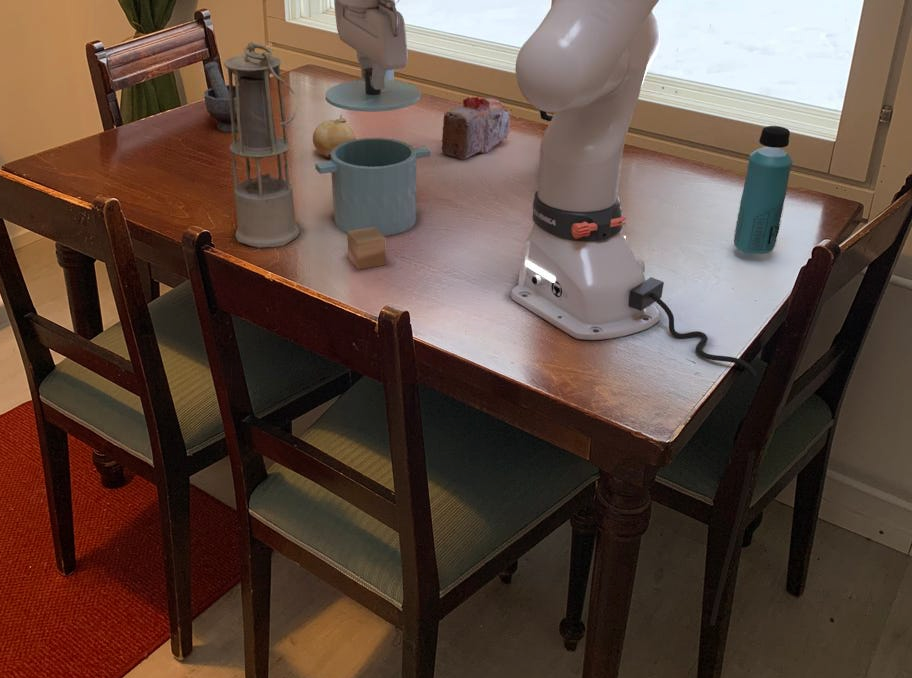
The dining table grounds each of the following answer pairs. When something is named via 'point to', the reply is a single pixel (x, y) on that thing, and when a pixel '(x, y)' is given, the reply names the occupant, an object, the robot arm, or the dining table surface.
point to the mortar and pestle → (220, 99)
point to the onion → (331, 135)
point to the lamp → (260, 152)
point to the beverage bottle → (764, 193)
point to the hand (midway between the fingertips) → (372, 84)
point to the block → (366, 248)
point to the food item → (474, 127)
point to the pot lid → (372, 95)
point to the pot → (374, 184)
